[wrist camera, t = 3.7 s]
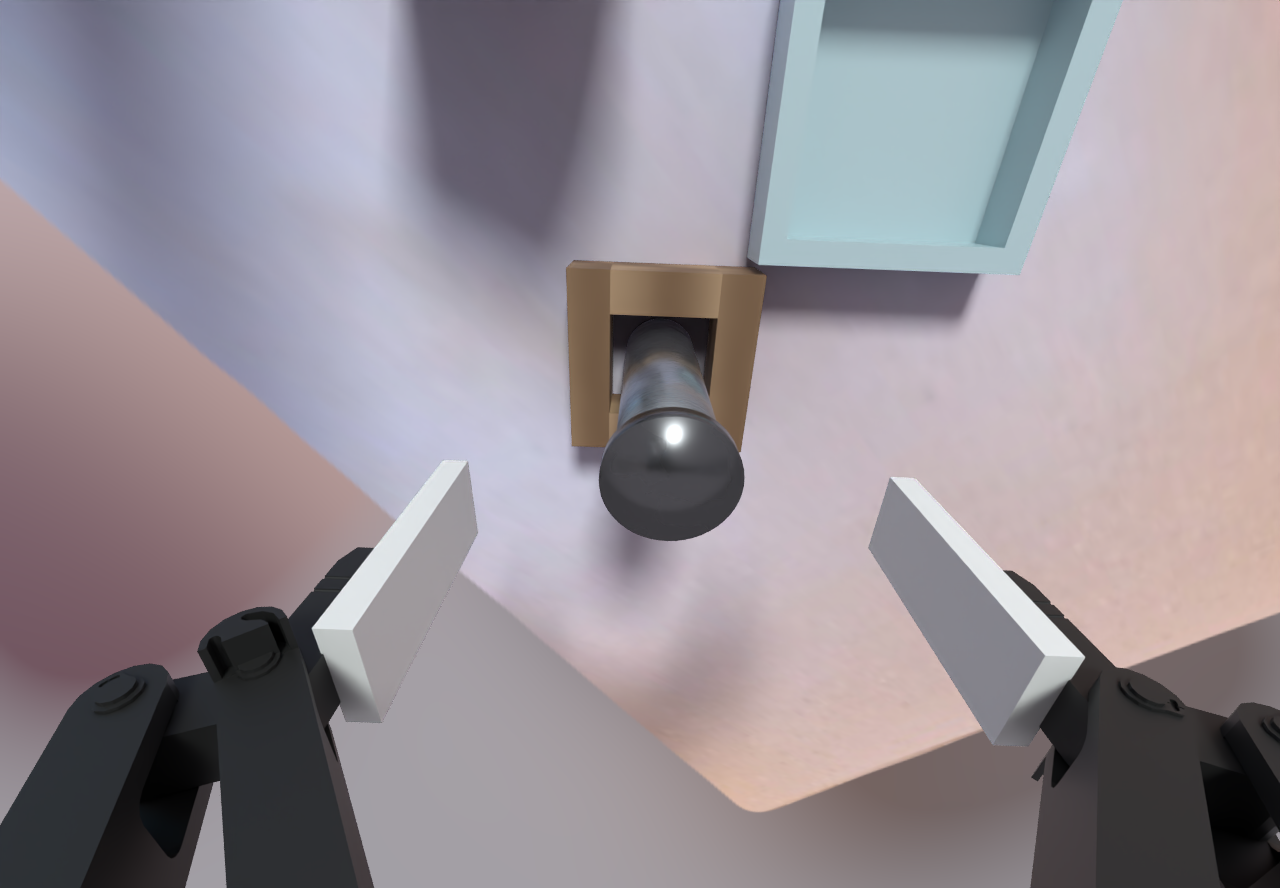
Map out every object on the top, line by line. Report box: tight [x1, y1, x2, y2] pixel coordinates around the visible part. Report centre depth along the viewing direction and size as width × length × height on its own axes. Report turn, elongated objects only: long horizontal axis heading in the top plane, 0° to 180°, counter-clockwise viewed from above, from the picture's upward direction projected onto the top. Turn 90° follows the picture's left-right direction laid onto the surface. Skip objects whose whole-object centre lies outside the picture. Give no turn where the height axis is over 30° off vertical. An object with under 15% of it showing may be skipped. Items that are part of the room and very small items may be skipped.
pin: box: [599, 318, 744, 541], centre depth 23 cm, size 5×5×15 cm
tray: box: [747, 0, 1123, 275], centre depth 23 cm, size 13×13×3 cm
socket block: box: [566, 260, 767, 452], centre depth 28 cm, size 10×10×3 cm
